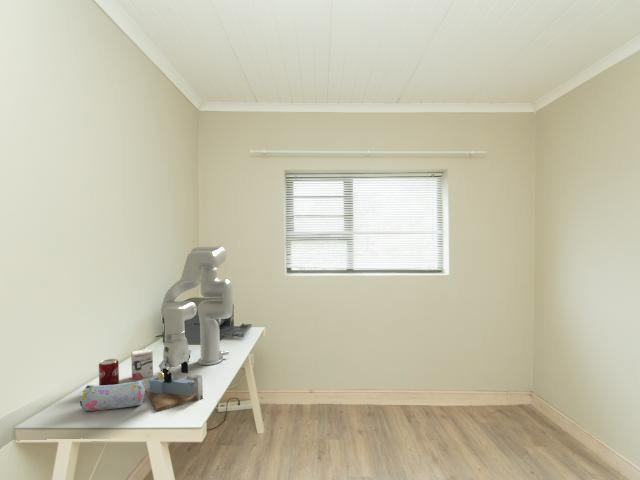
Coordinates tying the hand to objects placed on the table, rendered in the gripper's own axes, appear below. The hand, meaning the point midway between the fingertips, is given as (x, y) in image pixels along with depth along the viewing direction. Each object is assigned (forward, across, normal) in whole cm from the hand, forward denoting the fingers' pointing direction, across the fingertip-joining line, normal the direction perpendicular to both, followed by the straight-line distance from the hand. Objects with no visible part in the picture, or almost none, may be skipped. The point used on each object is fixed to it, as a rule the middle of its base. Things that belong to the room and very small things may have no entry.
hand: (176, 377), depth 145 cm
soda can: (+7, -5, +32) cm, 33 cm away
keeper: (+7, -1, -10) cm, 12 cm away
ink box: (+8, +11, +29) cm, 32 cm away
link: (+6, -1, +1) cm, 6 cm away
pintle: (+7, -1, +7) cm, 10 cm away
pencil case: (+7, -16, +16) cm, 23 cm away
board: (+7, -1, +1) cm, 7 cm away
